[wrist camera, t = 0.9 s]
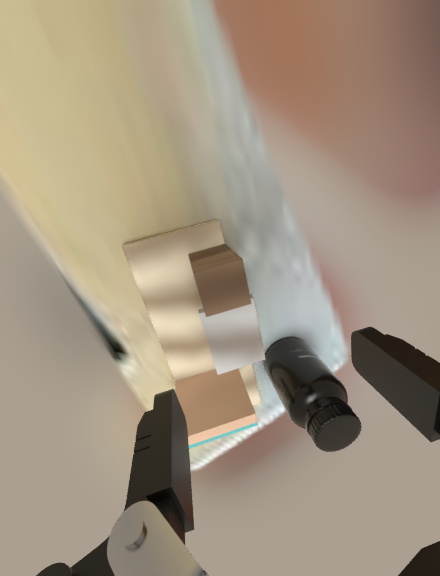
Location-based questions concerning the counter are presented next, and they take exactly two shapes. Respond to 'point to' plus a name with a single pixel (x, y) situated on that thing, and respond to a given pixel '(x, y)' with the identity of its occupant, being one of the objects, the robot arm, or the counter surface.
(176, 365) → the board
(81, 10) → the counter surface
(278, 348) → the supplement bottle
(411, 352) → the robot arm
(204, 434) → the tile
